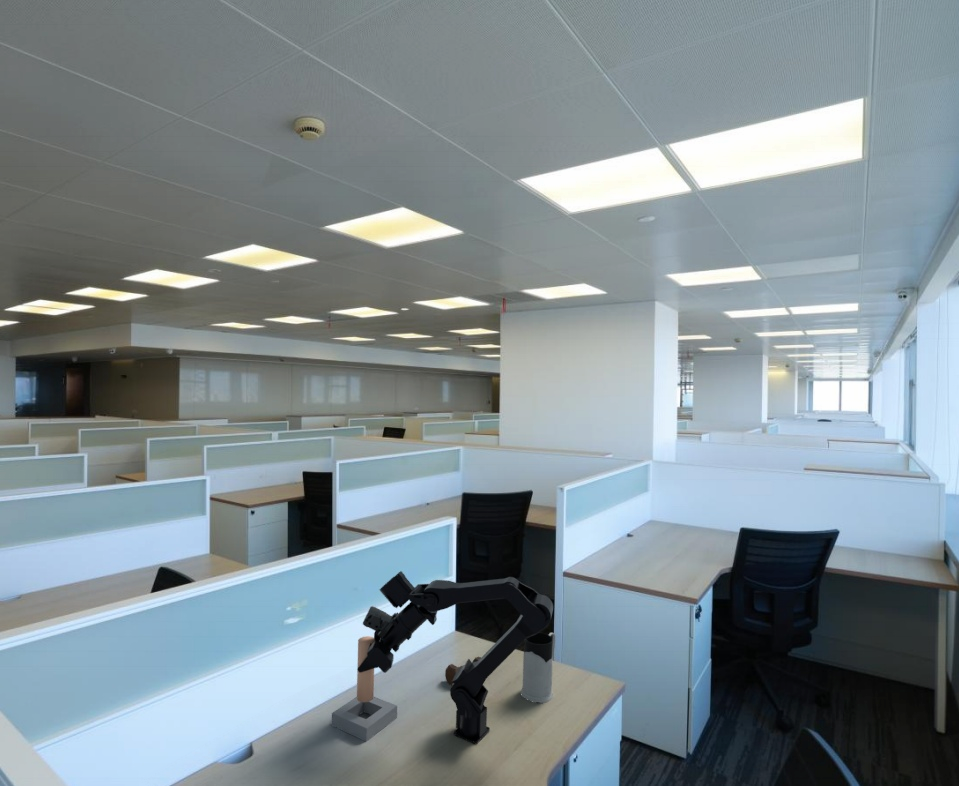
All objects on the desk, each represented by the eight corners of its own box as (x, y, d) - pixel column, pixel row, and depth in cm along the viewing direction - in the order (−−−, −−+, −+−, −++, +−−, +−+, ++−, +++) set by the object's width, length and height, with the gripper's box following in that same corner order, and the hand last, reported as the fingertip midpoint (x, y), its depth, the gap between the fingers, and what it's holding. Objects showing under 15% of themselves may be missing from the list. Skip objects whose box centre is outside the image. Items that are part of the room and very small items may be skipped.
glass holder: (514, 695, 149) (516, 639, 149) (539, 674, 161) (541, 622, 161) (544, 706, 144) (545, 648, 144) (567, 683, 156) (568, 630, 156)
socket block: (396, 717, 137) (397, 705, 137) (366, 741, 128) (366, 728, 128) (362, 703, 143) (363, 692, 143) (331, 725, 133) (331, 713, 133)
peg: (376, 696, 136) (378, 639, 136) (365, 704, 132) (367, 645, 132) (364, 691, 138) (365, 635, 138) (353, 699, 134) (354, 641, 134)
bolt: (491, 676, 162) (451, 691, 153) (482, 661, 166) (442, 675, 156) (499, 662, 160) (459, 677, 150) (489, 648, 164) (449, 661, 154)
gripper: (389, 584, 144) (345, 626, 144) (377, 613, 126) (327, 661, 126) (419, 615, 144) (375, 657, 144) (411, 648, 126) (361, 696, 126)
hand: (360, 666), depth 135 cm, fingers closed on peg, 4 cm apart
